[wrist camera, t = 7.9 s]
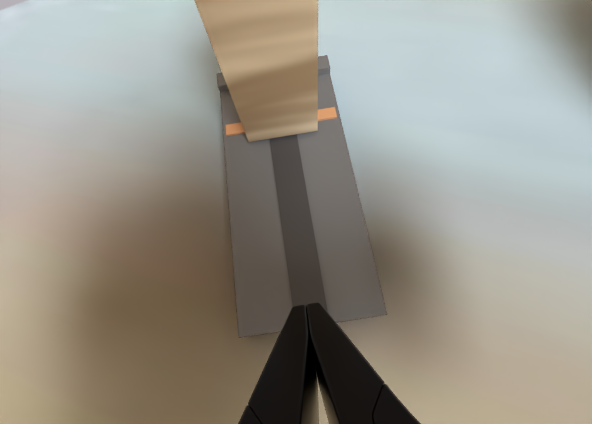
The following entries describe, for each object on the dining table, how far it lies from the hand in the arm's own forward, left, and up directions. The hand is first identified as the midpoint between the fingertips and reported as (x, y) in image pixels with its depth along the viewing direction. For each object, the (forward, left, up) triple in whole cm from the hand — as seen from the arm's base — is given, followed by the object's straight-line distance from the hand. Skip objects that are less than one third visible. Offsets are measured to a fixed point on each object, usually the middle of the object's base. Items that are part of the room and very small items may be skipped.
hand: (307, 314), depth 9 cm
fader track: (+5, +5, -7) cm, 10 cm away
